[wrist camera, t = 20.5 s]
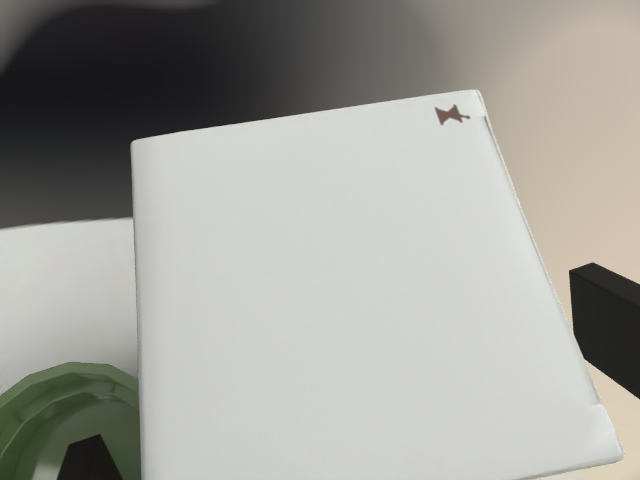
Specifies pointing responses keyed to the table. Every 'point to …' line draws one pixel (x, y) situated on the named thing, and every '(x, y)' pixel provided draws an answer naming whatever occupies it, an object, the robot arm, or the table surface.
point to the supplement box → (351, 305)
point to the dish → (69, 419)
